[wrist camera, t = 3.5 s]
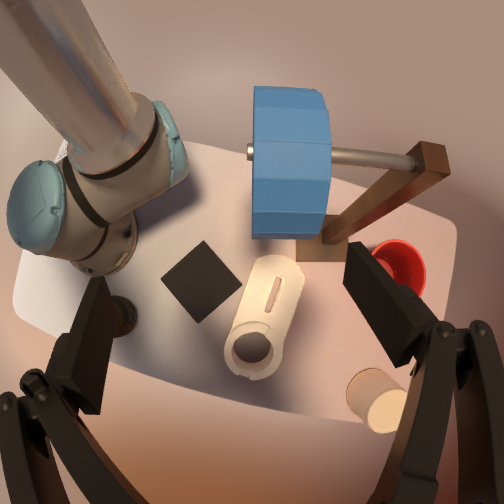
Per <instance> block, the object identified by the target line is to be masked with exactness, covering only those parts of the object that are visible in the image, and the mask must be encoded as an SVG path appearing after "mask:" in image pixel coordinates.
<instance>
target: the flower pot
mask: <svg viewBox="0 0 504 504" xmlns="http://www.w3.org/2000/svg"><path fill="white" fill-rule="evenodd" d="M370 253H371V254H372V255H373V256H374V257H375V258H376V259H377V261H378V262H379V263H380V264H381V265H382V266H383V267H384V269H385V270H386V271H387V272H388V273H389V274H390V276H391V277H392V278H393V279H394V280H395V282H396V283H397V284H398V285H402V284H405V285H407V286H409V287H410V288H412V289H413V290H414V291H415V292H416V293H417V295H418V296H419V297H421V295H422V293H423V290H424V287H425V282H426V269H425V265H424V262H423V259H422V257H421V255H420V254H419V252H418V251H417V250H416V249H415V248H414V247H413V246H412V245H411V244H409V243H407V242H405V241H402V240H397V239H393V240H387V241H385V242H383V243H381V244H379V245H378V246H377V247H376V248H375V249H373V250H372V251H371V252H370Z"/></svg>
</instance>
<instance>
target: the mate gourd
mask: <svg viewBox="0 0 504 504" xmlns="http://www.w3.org/2000/svg"><path fill="white" fill-rule="evenodd" d="M111 297H112V299H113V302H114V304H115V307H116V309H117V312H118V314H119V316H118V321H117V325H116V329H115V334H114V338H118V337H121V336H124V335H127V334H128V333H129V332H130V331H131V330H132V328H133V327H134V322H135V311H134V308H133V307H132V305H131V304H130V303H129V302H128V301H127V300H125V299H124V298H122V297H119V296H111Z"/></svg>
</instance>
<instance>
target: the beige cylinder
mask: <svg viewBox="0 0 504 504" xmlns="http://www.w3.org/2000/svg"><path fill="white" fill-rule="evenodd" d="M407 395H408V392H407V391H406V390H405V389H403V388H402V387H401V386H400V385H399V384H398V383H397V382H395V381H394V380H393V379H392V378H391V377H390V376H389V375H388V374H386V373H385V372H384V371H382V370H380V369H367V370H365V371H362V372H361V373H359V374H358V375H356V376H355V377H354V378H353V379H352V381H351V382H350V384H349V386H348V389H347V395H346V397H347V402H348V404H349V406H350V407H351V408H352V409H353V410H354V411H355V412H356V414H357V415H358V416H359V417H360V418H361V419H362V420H363V421H364V422H365V423H366V424H367V426H368V427H369V428H370V429H371V430H373V431H375V432H377V433H389V432H392V431H394V430H396V429H398V426H399V423H400V419H401V416H402V413H403V409H404V406H405V402H406V398H407Z"/></svg>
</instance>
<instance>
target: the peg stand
mask: <svg viewBox="0 0 504 504" xmlns="http://www.w3.org/2000/svg"><path fill="white" fill-rule="evenodd" d="M247 160H248V161H253V143H252V144H251V143H248V144H247ZM331 164H340V165H352V166H363V167H374V168H383V169H390V170H389V171H388V172H386V173H385V174H384V175H383V176H382V177H381V178H380V179H379V180H378V181H377V182H375V184H374V185H372V186H371V187H370V188H369V189H368V190H367V191H366V192H365V193H363V194H362V195H361V196H360V197H359V198H358V199H357V200H356V201H355V202H354V203H352V204H351V205H350V206H349V207H348V208H347V209H346V210H345V211H344V212H342V213H341V214H340V215H325V217H324V220H323V223H322V226H321V229H320V232H319V234H318V235H317V236H316V237H315V238H313V239H312V240H300V239H296V262H346V256H347V248H348V237H349V236H351V235H353V234H355V233H356V232H358V231H360V230H361V229H363V228H365V227H366V226H368V225H370V224H371V223H373V222H375V221H376V220H378V219H380V218H381V217H383V216H385V215H386V214H388V213H389V212H391V211H393V210H394V209H396V208H398V207H399V206H401V205H403V204H404V203H406V202H407V201H409V200H410V199H412V198H414V197H415V196H417V195H419V194H420V193H422V192H423V191H425V190H427V189H428V188H430V187H431V186H433V185H435V184H436V183H438V182H439V181H441V180H442V179H444V178H445V177H447V176H449V175H450V174H451V172H450V167H449V162H448V157H447V153H446V149H445V146H444V145H440V144H435V143H430V142H425V141H419V142H418V143H417V145H415V146H414V147H413V148H412V149H411V150H410V151H409V152H408V153H407V154H406V155H399V154H392V153H384V152H376V151H367V150H358V149H348V148H337V147H331Z"/></svg>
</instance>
